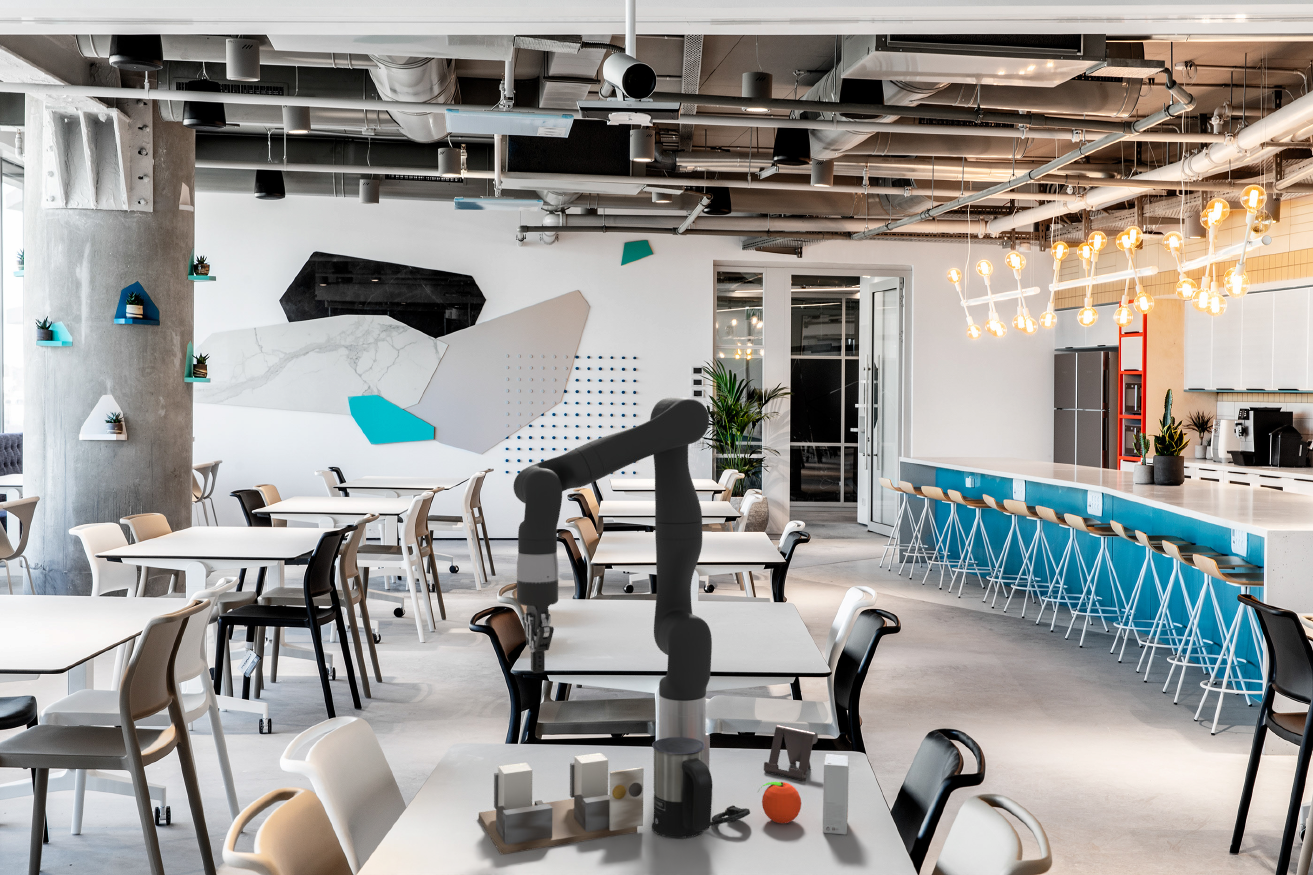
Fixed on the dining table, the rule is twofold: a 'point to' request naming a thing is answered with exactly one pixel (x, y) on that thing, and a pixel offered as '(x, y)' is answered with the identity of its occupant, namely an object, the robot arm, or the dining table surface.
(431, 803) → the dining table surface
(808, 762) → the portable electronic device stand
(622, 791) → the button board
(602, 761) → the button
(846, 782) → the skincare box
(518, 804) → the button
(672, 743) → the milk frother
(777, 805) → the clementine
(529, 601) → the robot arm
